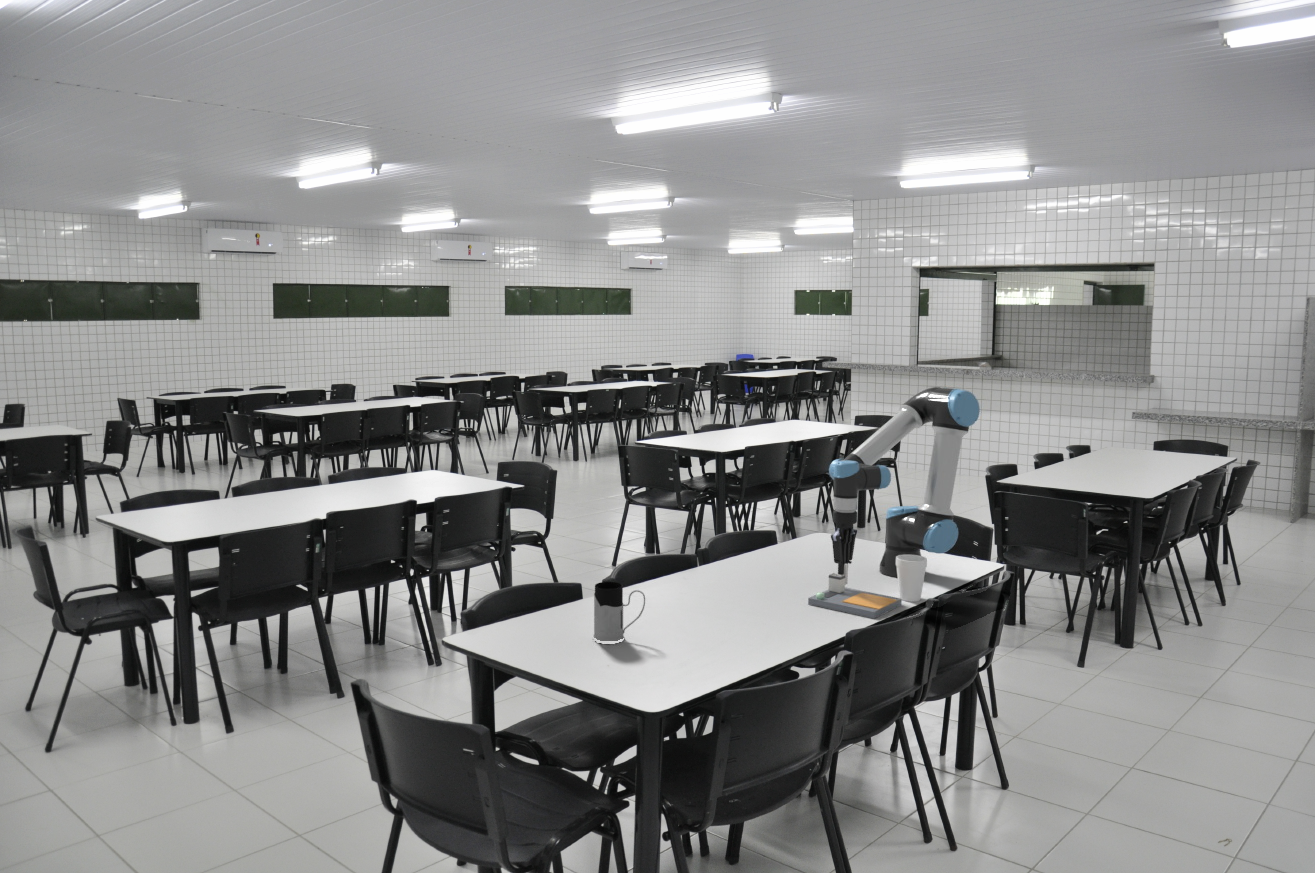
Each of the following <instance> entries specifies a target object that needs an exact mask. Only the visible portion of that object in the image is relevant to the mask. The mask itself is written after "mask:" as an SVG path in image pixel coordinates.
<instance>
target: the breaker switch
mask: <svg viewBox="0 0 1315 873" xmlns="http://www.w3.org/2000/svg"><path fill="white" fill-rule="evenodd" d="M845 587H846V585H845V575H841V574H838V573H835V572H833V573H829V574H828V590H829V591H832V592H837V593H841V592H844V591H845Z"/></svg>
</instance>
